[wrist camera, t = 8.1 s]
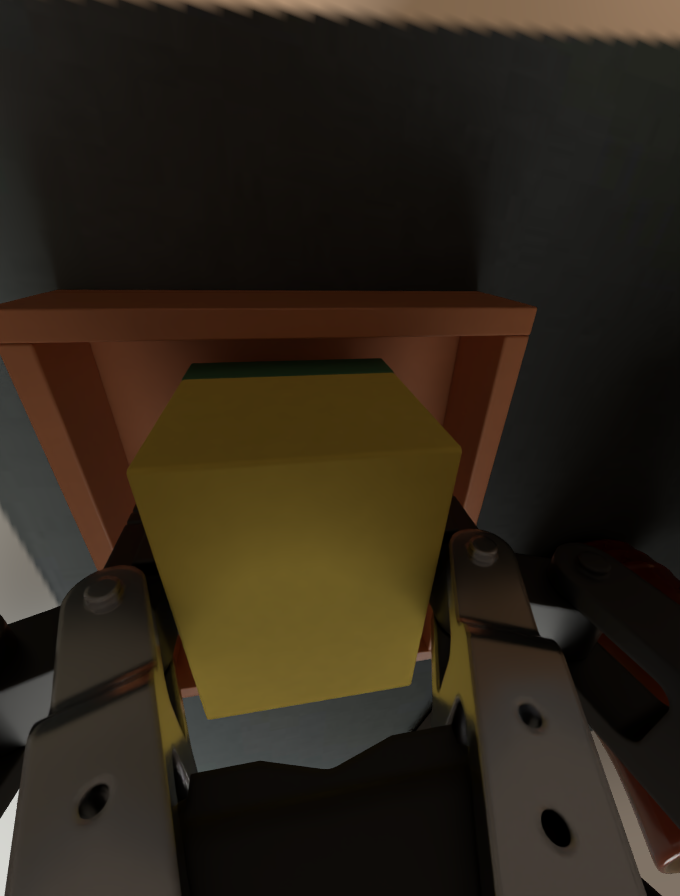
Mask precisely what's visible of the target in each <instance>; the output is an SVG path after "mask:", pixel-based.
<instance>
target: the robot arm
mask: <svg viewBox="0 0 680 896" xmlns="http://www.w3.org/2000/svg"><path fill="white" fill-rule="evenodd" d="M429 603H430V605H431V608H432V610H433V614H432V618H431V655H432V697H433V698H432V715H431V724H430V728H428V729H423V730H418V731H412V732H407V733H402V734H397V735H392V736H390V737H388V738H386V739H385V740H383V741H381V742H379V743H378V744H376V745H374V746H372V747H370V748H369V749H367V750H365V751H363V752H362V753H360V754H358V755H356V756H354V757H353V758H351V759H349V760H347V761H346V762H344V763H342V764H340V765H338V766H337V767H334V768H331V769H318V768H311V767H303V766H296V765H288V764H280V763H273V762H265V761H256V762H251V763H246V764H241V765H235V766H230V767H225V768H220V769H215V770H209V771H204V772H199V773H198V771H197V767H196V763H195V760H194V756H193V752H192V748H191V743H190V738H189V733H188V727H187V722H186V716H185V711H184V705H183V700H182V695H181V689H180V684H179V678H178V673H177V667H176V662H175V658H174V655H173V653H174V649H175V645H176V640H177V636H178V635H179V632H178V629H177V626H176V623H175V620H174V617H173V614H172V611H171V608H170V605H169V602H168V599H167V596H166V593H165V590H164V587H163V584H162V581H161V578H160V575H159V572H158V569H157V565H156V562H155V559H154V556H153V553H152V550H151V547H150V544H149V541H148V538H147V535H146V532H145V529H144V526H143V523H142V520H141V517H140V514H139V511H138V508H137V505H136V504H135V506H134V508H133V513H131V514H130V516H129V518H128V520H127V525H125V526H124V528H123V530H122V532H121V534H120V536H119V538H118V540H117V542H116V544H115V546H114V548H113V550H112V552H111V554H110V556H109V558H108V560H107V562H106V564H105V566H104V568H103V569H102V570H99V571H97V572H95V573H93V574H91V575H89V576H87V577H86V578H84V579H83V580H81V581H80V582H79V583H77V584H76V585H75V586H74V587H73V588H72V589H71V590H70V591H69V592H68V593H67V595H66V596H65V598H64V599H63V602H62V604H61V606H58V607H56V608H53V609H51V610H48V611H45V612H42V613H39V614H36V615H34V616H31V617H28V618H25V619H22V620H19V621H16V622H14V623H11V624H7V623H6V621H5V620H4V619H3V617H2V616H1V615H0V818H1V817H2V815H3V813H4V812H5V810H6V809H7V807H8V806H9V804H10V802H11V801H12V799H13V798H14V796H15V794H16V793H17V791H18V790H19V796H18V803H17V810H16V817H15V824H14V831H13V839H12V846H11V853H10V860H9V867H8V874H7V882H6V889H5V896H662V895H660V894H659V893H658V892H657V891H656V890H655V889H654V888H653V887H651V886H650V885H649V884H648V883H647V882H646V881H644V880H643V879H642V878H641V877H640V874H639V871H638V868H637V865H636V862H635V859H634V856H633V854H632V851H631V848H630V845H629V842H628V839H627V836H626V833H625V830H624V827H623V824H622V821H621V819H620V816H619V813H618V810H617V807H616V804H615V801H614V798H613V795H612V792H611V790H610V787H609V784H608V781H607V778H606V775H605V772H604V769H603V766H602V763H601V761H600V758H599V755H598V752H597V749H596V746H595V743H594V740H593V737H592V734H591V732H590V729H589V726H588V724H589V725H590V727H591V728H592V729H593V730H594V731H595V732H596V734H597V735H598V736H599V737H600V738H601V739H602V740H603V742H604V743H605V744H606V745H607V746H608V747H609V749H610V750H611V751H612V752H613V753H614V754H615V755H616V757H617V758H618V759H619V760H620V761H621V762H622V764H623V765H624V766H625V767H626V768H627V769H628V770H629V772H630V773H631V774H632V775H633V776H634V777H635V779H636V780H637V781H638V782H639V783H640V784H641V785H642V787H643V788H644V789H645V790H646V791H647V792H648V794H649V795H650V796H651V797H652V798H653V799H654V800H655V802H656V803H657V804H658V805H659V806H660V807H661V809H662V810H663V811H664V812H665V813H666V814H667V815H668V817H669V818H670V819H671V820H672V821H673V822H674V824H675V825H676V826H677V827H678V828H679V829H680V605H679V604H678V603H676V602H675V601H674V600H672V599H671V598H669V597H668V596H667V595H665V594H664V593H662V592H661V591H660V590H658V589H657V588H655V587H654V586H653V585H651V584H650V583H648V582H647V581H646V580H644V579H643V578H642V577H640V576H639V575H637V574H636V573H635V572H633V571H632V570H630V569H629V568H628V567H626V566H625V565H623V564H622V563H621V562H619V561H618V560H616V559H615V558H614V557H612V556H611V555H609V554H608V553H606V552H604V551H602V550H600V549H598V548H595V547H593V546H590V545H586V544H581V543H565V544H562V545H560V546H558V547H557V548H556V550H555V552H554V555H553V557H552V559H551V558H544V557H537V556H530V555H524V554H518V553H514V551H513V549H512V548H511V547H510V546H509V544H508V543H507V542H505V541H504V540H503V539H501V538H500V537H498V536H497V535H495V534H493V533H490V532H488V531H484V530H480V529H478V528H477V526H476V525H475V524H474V522H473V521H472V519H471V518H470V516H469V515H468V514H467V512H466V511H465V509H464V508H463V507H462V505H461V504H460V502H459V501H458V500H457V498H456V497H455V496H453V495H452V500H451V504H450V509H449V513H448V518H447V522H446V527H445V531H444V536H443V540H442V545H441V549H440V554H439V558H438V563H437V567H436V572H435V576H434V581H433V585H432V590H431V594H430V599H429ZM602 633H604V634H605V635H606V636H607V637H608V638H609V639H610V640H611V641H612V642H614V643H615V644H616V645H617V646H618V647H619V648H620V649H621V650H622V651H623V652H625V653H626V654H627V655H628V656H629V657H630V658H631V659H632V660H633V661H634V662H636V663H637V664H638V665H639V666H640V667H641V668H642V669H643V670H644V671H645V672H647V673H648V674H649V675H650V676H651V677H652V678H653V679H654V680H655V681H656V682H657V683H658V684H659V685H660V686H661V688H662V689H663V690H664V692H665V694H666V695H667V698H668V701H669V706H667V705H665V704H664V703H663V702H661V701H660V700H659V699H658V698H657V697H655V696H654V695H653V694H652V693H651V692H650V691H649V690H648V689H647V688H646V687H645V686H644V685H643V684H642V683H641V682H640V681H638V680H637V679H636V678H635V677H634V676H633V675H632V674H631V673H630V672H629V671H628V670H627V669H626V668H625V667H624V666H622V665H621V664H620V663H619V662H618V661H617V660H616V659H615V658H614V657H613V656H612V655H611V654H610V653H609V652H608V651H607V650H605V649H604V648H603V647H602V646H601V645H600V644H599V643H598V642H597V641H598V639H599V638H600V636H601V635H602Z"/></svg>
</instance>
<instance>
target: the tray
mask: <svg viewBox="0 0 680 896" xmlns="http://www.w3.org/2000/svg"><path fill="white" fill-rule="evenodd" d="M536 311H537V307H535V306H531V305H527V304H524V303H520V302H516V301H513V300H509V299H505V298H501V297H498V296H494V295H490V294H485V293H482V292H479V291H290V290H54V291H50V292H45V293H41V294H37V295H33V296H30V297H26V298H22V299H18V300H14V301H10V302H6V303H2V304H0V355H1V357H2V360H3V362H4V364H5V366H6V368H7V371H8V373H9V375H10V377H11V379H12V382H13V384H14V386H15V388H16V391H17V393H18V395H19V397H20V399H21V402H22V404H23V406H24V408H25V410H26V413H27V415H28V417H29V419H30V422H31V424H32V426H33V428H34V430H35V433H36V435H37V437H38V439H39V441H40V444H41V446H42V448H43V450H44V453H45V455H46V457H47V459H48V461H49V464H50V466H51V468H52V470H53V472H54V475H55V477H56V479H57V481H58V484H59V486H60V488H61V490H62V492H63V495H64V497H65V499H66V501H67V503H68V506H69V508H70V510H71V512H72V515H73V517H74V519H75V521H76V523H77V526H78V528H79V530H80V532H81V534H82V537H83V539H84V541H85V543H86V546H87V548H88V550H89V552H90V554H91V557H92V559H93V561H94V563H95V565H96V568H97V570H98V571H99V570H102V569H103V568H104V566H105V564H106V562H107V560H108V558H109V556H110V554H111V552H112V550H113V548H114V546H115V544H116V542H117V540H118V538H119V536H120V534H121V532H122V530H123V528H124V526H125V525H127V520H128V518H129V516H130V514H131V513H133V508H134V506H135V504H136V502H135V499H134V496H133V493H132V490H131V487H130V484H129V481H128V478H127V474H126V473H127V469H128V467H129V466H130V464H131V462H132V461H133V459H134V457H135V456H136V454H137V453H138V451H139V449H140V448H141V446H142V444H143V443H144V441H145V440H146V438H147V436H148V435H149V433H150V431H151V430H152V428H153V427H154V425H155V423H156V422H157V420H158V418H159V417H160V415H161V414H162V412H163V410H164V409H165V407H166V405H167V404H168V402H169V401H170V399H171V397H172V396H173V394H174V392H175V391H176V389H177V388H178V386H179V384H180V383H181V381H182V378H183V376H184V375H185V373H186V371H187V370H188V368H189V367H190V365H191V364H192V363H217V362H255V361H292V360H330V359H367V358H381V359H383V361H384V362H385V363H386V364H387V365H388V366H389V367H390V368H391V369H392V370H393V372H394V374H395V375H396V376H397V377H398V378H399V379H400V380H401V381H402V382H403V384H404V385H405V386H406V387H407V388H408V389H409V390H410V391H411V392H412V393H413V395H414V396H415V397H416V398H417V399H418V400H419V401H420V402H421V403H422V404H423V406H424V407H425V408H426V409H427V410H428V411H429V412H430V413H431V414H432V415H433V417H434V418H435V419H436V420H437V421H438V422H439V423H440V424H441V425H442V426H443V428H444V429H445V430H446V431H447V432H448V433H449V434H450V435H451V436H452V438H453V439H454V440H455V441H456V442H457V443H458V444H459V445H460V446H461V449H462V454H461V459H460V463H459V468H458V472H457V477H456V481H455V486H454V490H453V496H455V497H456V498H457V500H458V501H459V502H460V504H461V505H462V507H463V508H464V509H465V511H466V512H467V514H468V515H469V516H470V518H471V519H472V521H473V522H474V524H475V525H476V524H477V520H478V517H479V513H480V510H481V506H482V502H483V499H484V495H485V492H486V488H487V485H488V481H489V477H490V474H491V470H492V467H493V463H494V460H495V456H496V452H497V449H498V445H499V442H500V438H501V435H502V431H503V427H504V424H505V420H506V417H507V413H508V409H509V406H510V402H511V399H512V395H513V392H514V388H515V384H516V381H517V377H518V374H519V370H520V367H521V363H522V359H523V356H524V352H525V349H526V345H527V342H528V336H527V335H529V334H530V333H531V329H532V325H533V322H534V318H535V315H536ZM432 614H433V610H432V608H431V605H430V603H429V604H428V608H427V613H426V617H425V622H424V626H423V631H422V635H421V640H420V644H419V649H418V653H417V658H416V661H420V660H426V659H432V655H431V618H432ZM173 655H174V658H175V662H176V667H177V673H178V678H179V684H180V689H181V695H182V698H185V697H191V696H198V695H199V693H198V690H197V687H196V684H195V681H194V678H193V675H192V672H191V669H190V665H189V662H188V659H187V656H186V653H185V650H184V647H183V644H182V641H181V638H180V635H178V636H177V640H176V645H175V649H174V653H173Z"/></svg>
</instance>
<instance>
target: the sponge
mask: <svg viewBox="0 0 680 896" xmlns="http://www.w3.org/2000/svg"><path fill="white" fill-rule="evenodd" d="M461 454H462V449H461V446H460V445H459V444H458V443H457V442H456V441H455V440H454V439H453V438H452V436H451V435H450V434H449V433H448V432H447V431H446V430H445V429H444V428H443V426H442V425H441V424H440V423H439V422H438V421H437V420H436V419H435V418H434V417H433V415H432V414H431V413H430V412H429V411H428V410H427V409H426V408H425V407H424V406H423V404H422V403H421V402H420V401H419V400H418V399H417V398H416V397H415V396H414V395H413V393H412V392H411V391H410V390H409V389H408V388H407V387H406V386H405V385H404V384H403V382H402V381H401V380H400V379H399V378H398V377H397V376H396V375H395V374H394V372H393V370H392V369H391V368H390V367H389V366H388V365H387V364H386V363H385V362H384V361H383V359H381V358H367V359H330V360H292V361H255V362H217V363H192V364H191V365H190V367H189V368H188V370H187V371H186V373H185V375H184V376H183V378H182V381H181V383H180V384H179V386H178V388H177V389H176V391H175V392H174V394H173V396H172V397H171V399H170V401H169V402H168V404H167V405H166V407H165V409H164V410H163V412H162V414H161V415H160V417H159V418H158V420H157V422H156V423H155V425H154V427H153V428H152V430H151V431H150V433H149V435H148V436H147V438H146V440H145V441H144V443H143V444H142V446H141V448H140V449H139V451H138V453H137V454H136V456H135V457H134V459H133V461H132V462H131V464H130V466H129V467H128V469H127V473H126V474H127V478H128V481H129V484H130V487H131V490H132V493H133V496H134V499H135V502H136V505H137V508H138V511H139V514H140V517H141V520H142V523H143V526H144V529H145V532H146V535H147V538H148V541H149V544H150V547H151V550H152V553H153V556H154V559H155V562H156V565H157V569H158V572H159V575H160V578H161V581H162V584H163V587H164V590H165V593H166V596H167V599H168V602H169V605H170V608H171V611H172V614H173V617H174V620H175V623H176V626H177V629H178V632H179V635H180V638H181V641H182V644H183V647H184V650H185V653H186V656H187V659H188V662H189V665H190V669H191V672H192V675H193V678H194V681H195V684H196V687H197V690H198V693H199V696H200V699H201V702H202V705H203V708H204V711H205V714H206V717H207V719H216V718H222V717H228V716H233V715H239V714H245V713H251V712H257V711H263V710H269V709H274V708H280V707H286V706H292V705H298V704H304V703H309V702H315V701H321V700H327V699H333V698H339V697H345V696H350V695H356V694H362V693H368V692H374V691H380V690H385V689H391V688H397V687H403V686H408V685H410V684H411V680H412V676H413V671H414V667H415V662H416V658H417V653H418V649H419V644H420V640H421V635H422V631H423V626H424V622H425V617H426V613H427V608H428V604H429V599H430V594H431V590H432V585H433V581H434V576H435V572H436V567H437V563H438V558H439V554H440V549H441V545H442V540H443V536H444V531H445V527H446V522H447V518H448V513H449V509H450V504H451V500H452V495H453V490H454V486H455V481H456V477H457V472H458V468H459V463H460V459H461Z"/></svg>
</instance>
